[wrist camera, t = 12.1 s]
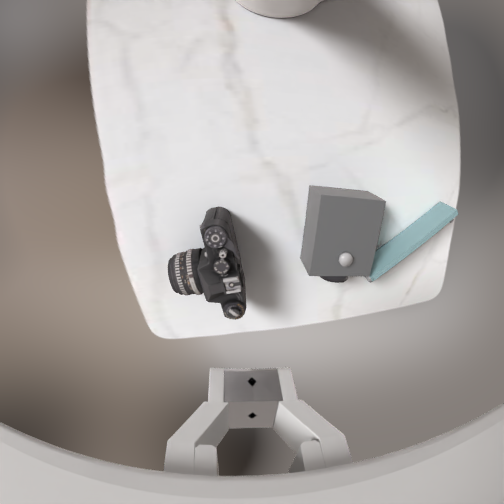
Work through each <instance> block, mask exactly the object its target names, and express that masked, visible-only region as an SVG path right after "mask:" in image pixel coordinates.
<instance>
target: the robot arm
mask: <svg viewBox="0 0 504 504" xmlns="http://www.w3.org/2000/svg"><path fill="white" fill-rule="evenodd" d="M236 1H237V2H238V3H239V4H240V5H242V6H243V7H244V8H246V9H248V10H250V11H252V12H254V13H257V14H260V15H264V16H268V17H276V18H288V17H295V16H299V15H302V14H305V13H307V12H309V11H310V10H312V9H313V8H314V7H315V6H316V5H317V4H318V3H320V2H321V1H324V0H236ZM267 427H273V429H274V430H275V431H276V432H277V434H278V435H279V436H280V437H281V438H282V439H283V440H284V442H285V443H286V444H287V445H288V446H289V447H290V448H291V450H292V451H293V452H294V453H295V454H296V456H295V458H294V460H293V462H292V464H291V466H290V468H289V473H285V474H274V475H257V476H219V471H218V460H217V450H216V447H217V445H218V444H219V442H220V441H221V440H222V438H223V437H224V435H225V434H226V433H227V431H228V430H229V428H267ZM0 504H504V403H503V404H501V405H499V406H497V407H496V408H494V409H492V410H490V411H489V412H487V413H485V414H483V415H481V416H479V417H478V418H476V419H474V420H472V421H470V422H468V423H466V424H464V425H461V426H459V427H457V428H455V429H453V430H451V431H448V432H446V433H444V434H441V435H439V436H437V437H434V438H432V439H429V440H427V441H424V442H421V443H419V444H416V445H413V446H410V447H407V448H404V449H401V450H398V451H395V452H392V453H388V454H385V455H382V456H378V457H374V458H370V459H367V460H362V461H358V462H354V463H353V461H352V458H351V454H350V451H349V448H348V445H347V442H346V439H345V435H344V434H343V433H341V432H340V431H339V430H338V429H336V428H335V427H334V426H333V425H331V424H330V423H329V422H328V421H327V420H325V419H324V418H323V417H322V416H321V415H319V414H318V413H317V412H316V411H315V410H313V409H312V408H311V407H310V406H309V405H307V404H306V403H305V402H304V401H303V400H298V396H297V392H296V387H295V383H294V379H293V375H292V371H291V368H290V367H288V368H259V369H231V368H229V369H228V368H210V377H209V395H208V402H204V403H203V404H202V405H201V406H200V407H199V408H198V409H197V410H196V411H195V413H194V414H193V415H192V416H191V417H190V418H189V419H188V420H187V421H186V422H185V423H184V424H183V425H182V426H181V427H180V428H179V430H178V431H177V432H176V433H175V434H174V435H173V436H172V437H171V438H170V439H169V440H168V441H167V449H166V457H165V465H164V472H162V471H154V470H148V469H142V468H136V467H131V466H126V465H120V464H116V463H112V462H108V461H103V460H99V459H96V458H92V457H88V456H85V455H81V454H78V453H75V452H71V451H69V450H66V449H63V448H60V447H57V446H54V445H51V444H48V443H46V442H43V441H41V440H38V439H36V438H33V437H31V436H29V435H26V434H24V433H22V432H20V431H18V430H15V429H13V428H11V427H9V426H7V425H5V424H3V423H1V422H0Z"/></svg>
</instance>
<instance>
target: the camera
mask: <svg viewBox="0 0 504 504" xmlns="http://www.w3.org/2000/svg"><path fill="white" fill-rule="evenodd" d="M200 228H201V229H200V230H201V234H202V238H203V242H204V246H205V248H203V249H201V248H199V249H189V250H188V251H186V252H181V253H177V254H176V255H174V256H173V257H172V258H170V260H169V263H168V275H169V280H170V283H171V286H172V288H173V290H174V291H175V292H176V293H179V294H181V295H183V294H184V295H190V294H197V295H200V294H202V293H204V295H205V298H206V301H208V302H214V303H221V306H222V309H223V313H224V316H225V317H227V318H229V319H239V318H241V317H242V316H243V315H244V313H245V310H246V293H245V279H244V274H243V271H242V266H241V260H240V259H241V258H240V255H239V252H238V248H237V242H236V237H235V233H234V228H233V225H232V221H231V216H230V214H229V212H228V211H227V210H226V209H225V208H222V207H216V208H211V209H209V210H208V211H207V212H206V216H205V219H204V221H203V223H202V225H200Z"/></svg>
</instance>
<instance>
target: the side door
mask: <svg viewBox="0 0 504 504" xmlns="http://www.w3.org/2000/svg"><path fill="white" fill-rule="evenodd" d="M457 215H458V212H457V209H455V208H453V207H451V206H449V205H447V204H445V203H442V202H439V203H438V204H437V205H435V206H434V207H433V208H432V209H430V210H429V211H428V212H427V213H425V214H424V215H423V216H422V217H420V218H419V219H418V220H417V221H415V222H414V223H413V224H411V225H410V226H409V227H408V228H406V229H405V230H404V231H402V232H401V233H400V234H398V235H397V236H396V237H394V238H393V239H392V240H390V241H389V242H388V243H386V244H385V245H384V246H382V247H381V248H379V249H378V250H377V251H376V252H375V256H374V260H373V264H372V268H371V272H370V276H365V277H366V279H367V280H368V281H369V282H373V281H374V280H375V279H377V278H378V277H380V276H381V275H382V274H384V273H385V272H387V271H388V270H389V269H391V268H392V267H393V266H395V265H396V264H397V263H399V262H400V261H401V260H403V259H404V258H405V257H407V256H408V255H409V254H410V253H412V252H413V251H414V250H416V249H417V248H418V247H419V246H421V245H422V244H423V243H424V242H426V241H427V240H428V239H429V238H431V237H432V236H433V235H434V234H436V233H437V232H438V231H439V230H440V229H442V228H443V227H444V226H445V225H446V224H448V223H449V222H450V223H451V222H452V221H453V218H455V217H456V216H457Z"/></svg>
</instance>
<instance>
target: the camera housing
mask: <svg viewBox="0 0 504 504" xmlns="http://www.w3.org/2000/svg"><path fill="white" fill-rule="evenodd" d="M385 203H386V201H385V200H383V199H381V198H379V197H378V196H376V195H374V194H372V193H370V192H368V191H361V190H352V189H342V188H332V187H321V186H309V194H308V203H307V211H306V220H305V228H304V235H303V243H302V250H301V257H300V258H301V260H302V262H303V264H304V266H305V268H306V270H307V273H308V275H309V276H320V277H321V278H323V279H324V280H327V281H330V282H336V283H339V282H344V281H346V280H347V279H348V276H370V272H371V268H372V264H373V260H374V256H375V252H376V247H377V243H378V238H379V234H380V229H381V224H382V219H383V214H384V208H385Z"/></svg>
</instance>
